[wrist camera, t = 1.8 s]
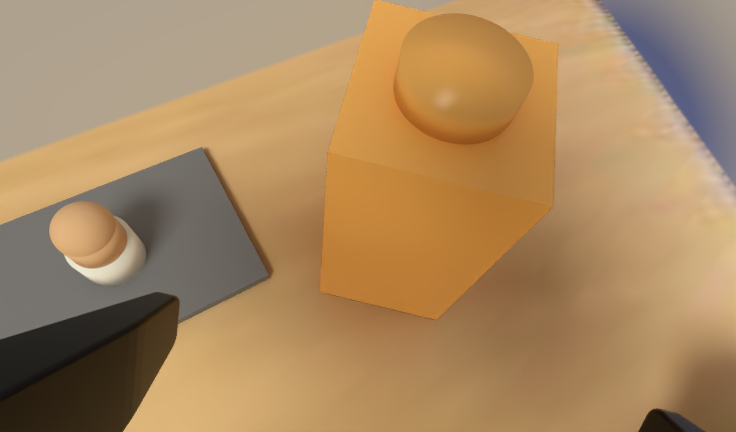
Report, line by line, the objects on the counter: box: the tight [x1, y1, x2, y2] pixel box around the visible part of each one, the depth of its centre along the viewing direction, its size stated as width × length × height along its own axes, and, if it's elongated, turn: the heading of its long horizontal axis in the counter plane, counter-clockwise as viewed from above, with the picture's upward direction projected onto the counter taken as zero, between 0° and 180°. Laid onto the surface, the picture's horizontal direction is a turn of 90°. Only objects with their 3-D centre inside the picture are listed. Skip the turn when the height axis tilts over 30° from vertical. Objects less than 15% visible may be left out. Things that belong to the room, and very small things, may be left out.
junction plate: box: [0, 147, 269, 339], centre depth 20 cm, size 12×8×5 cm
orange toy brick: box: [320, 0, 558, 320], centre depth 18 cm, size 6×6×14 cm
